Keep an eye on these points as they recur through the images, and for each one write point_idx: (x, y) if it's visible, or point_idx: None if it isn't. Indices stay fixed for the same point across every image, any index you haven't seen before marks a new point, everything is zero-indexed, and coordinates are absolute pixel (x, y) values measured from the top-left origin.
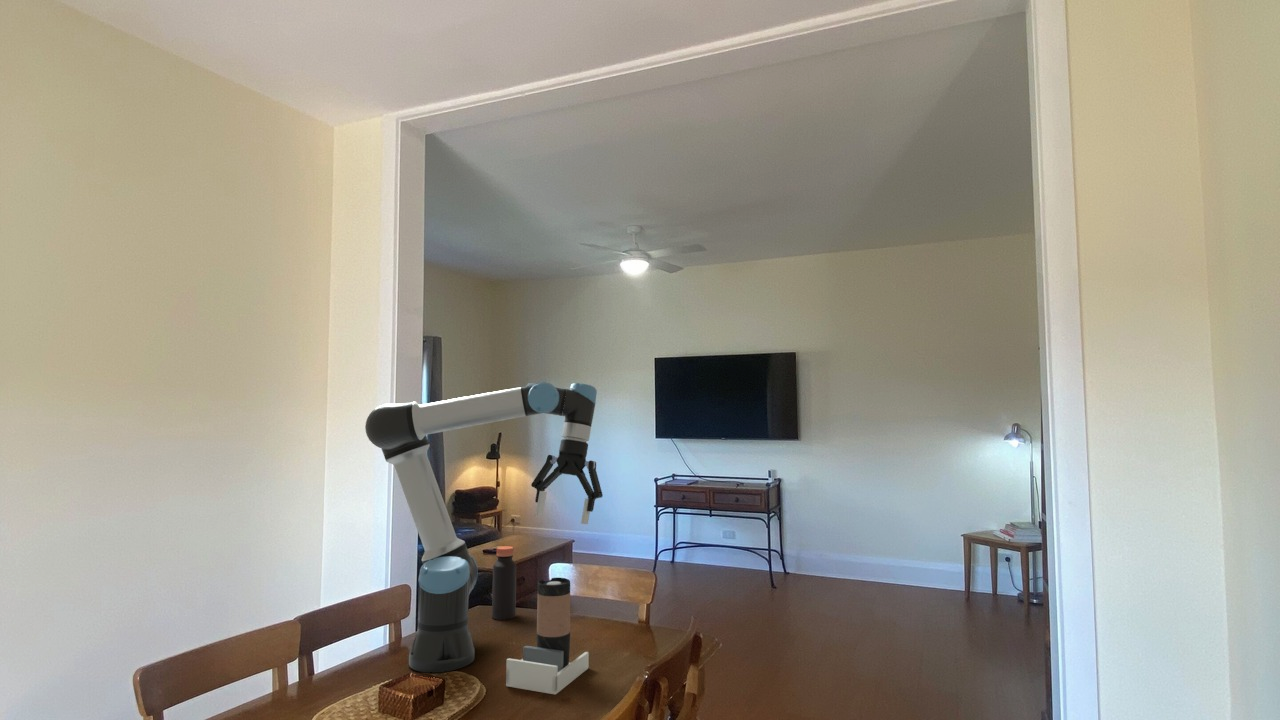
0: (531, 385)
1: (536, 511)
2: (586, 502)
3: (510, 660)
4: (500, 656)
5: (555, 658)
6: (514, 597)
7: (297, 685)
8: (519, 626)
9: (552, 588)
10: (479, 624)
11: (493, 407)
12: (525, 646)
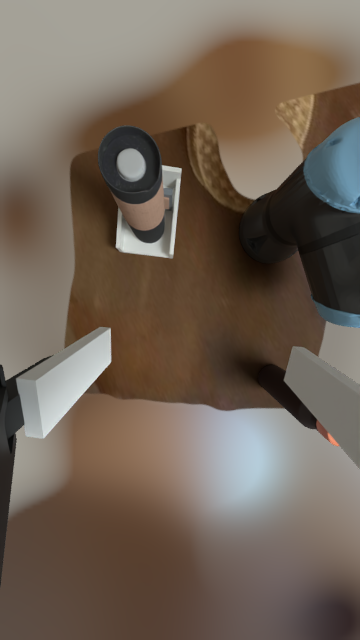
0: None
1: (311, 354)
2: (41, 364)
3: (176, 168)
4: (219, 260)
5: None
6: (270, 387)
7: None
8: (240, 352)
9: (120, 131)
10: (284, 346)
11: None
12: (171, 191)
